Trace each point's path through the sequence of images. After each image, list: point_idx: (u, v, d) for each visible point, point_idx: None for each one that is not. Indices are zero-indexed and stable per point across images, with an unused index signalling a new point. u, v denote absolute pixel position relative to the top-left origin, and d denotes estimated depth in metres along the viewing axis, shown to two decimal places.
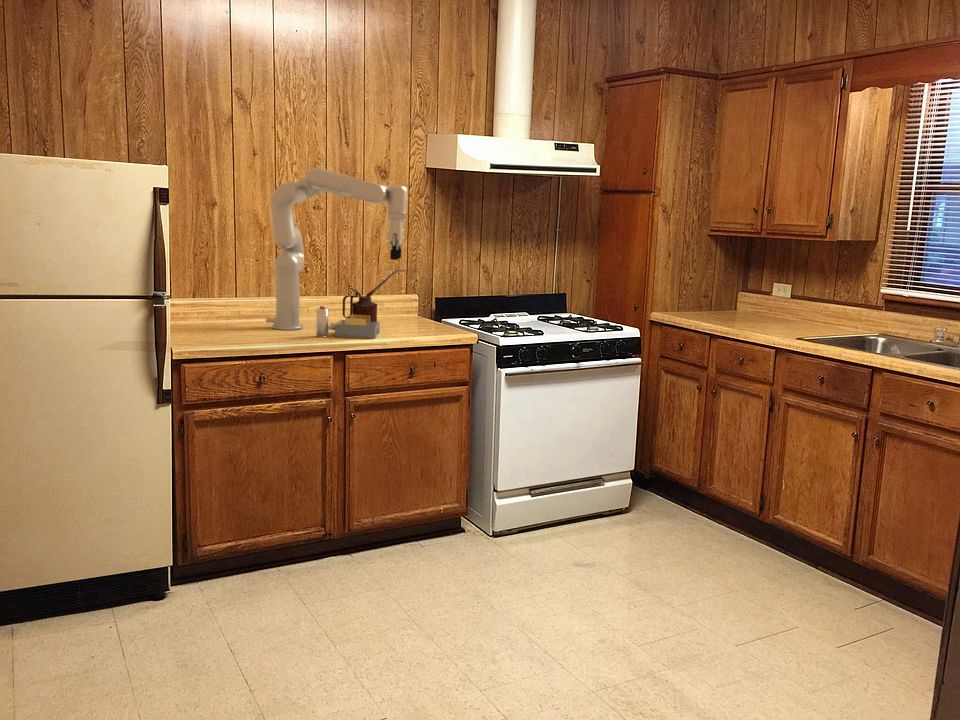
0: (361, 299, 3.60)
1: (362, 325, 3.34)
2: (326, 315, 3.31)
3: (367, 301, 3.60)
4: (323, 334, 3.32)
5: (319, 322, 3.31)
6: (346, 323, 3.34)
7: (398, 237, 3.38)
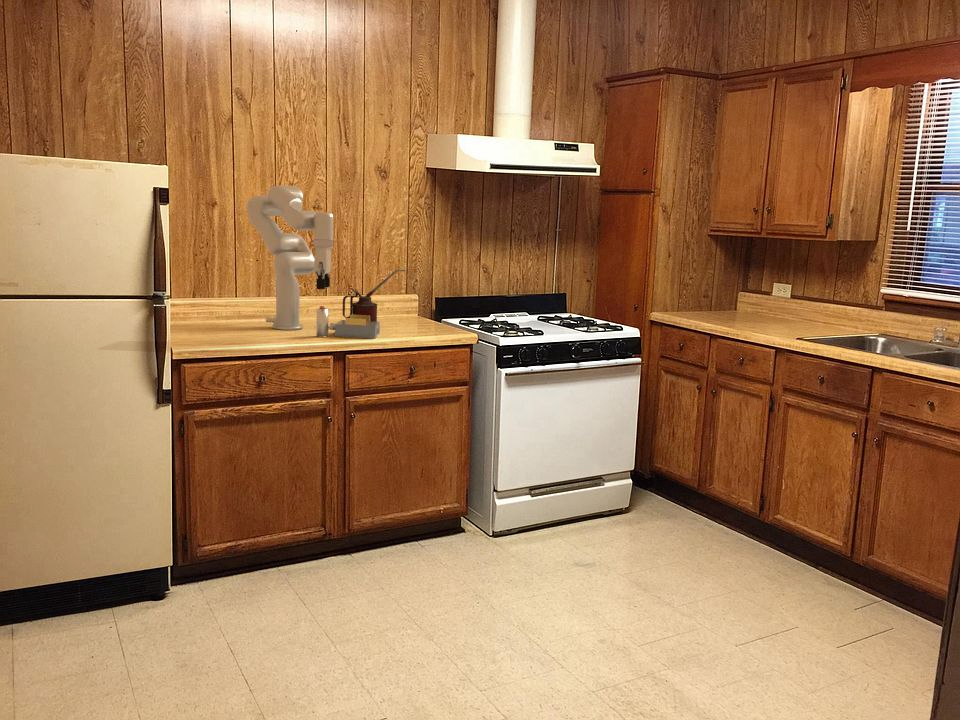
0: (361, 299, 3.60)
1: (362, 325, 3.34)
2: (326, 315, 3.31)
3: (367, 301, 3.60)
4: (323, 334, 3.32)
5: (319, 322, 3.31)
6: (346, 323, 3.34)
7: (324, 266, 3.24)
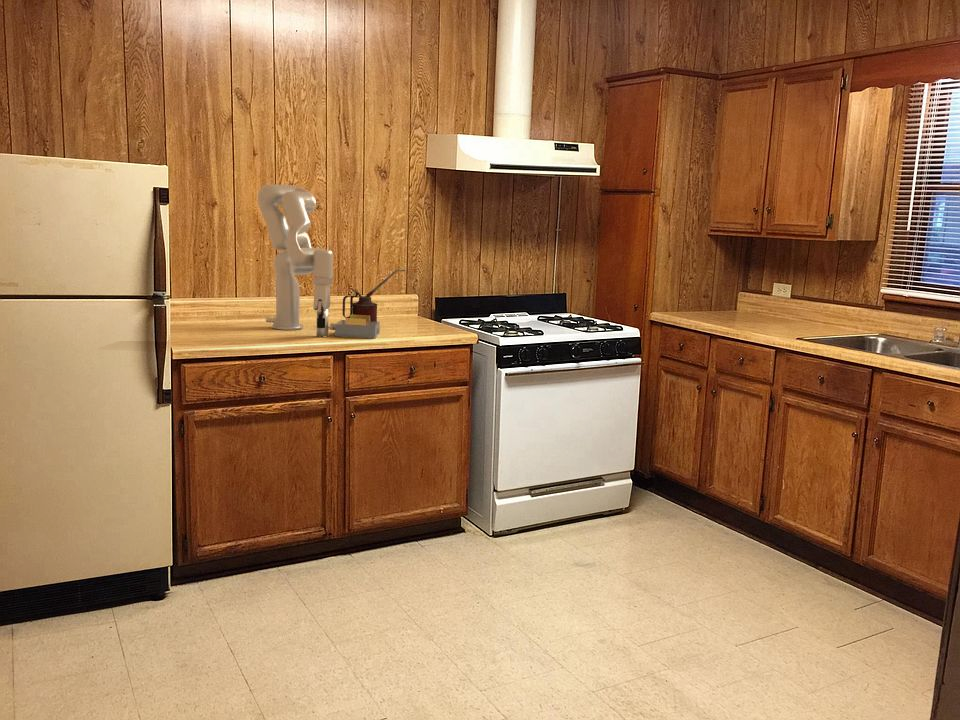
0: (361, 299, 3.60)
1: (362, 325, 3.34)
2: (326, 315, 3.31)
3: (367, 301, 3.60)
4: (323, 334, 3.32)
5: None
6: (346, 323, 3.34)
7: (323, 303, 3.27)
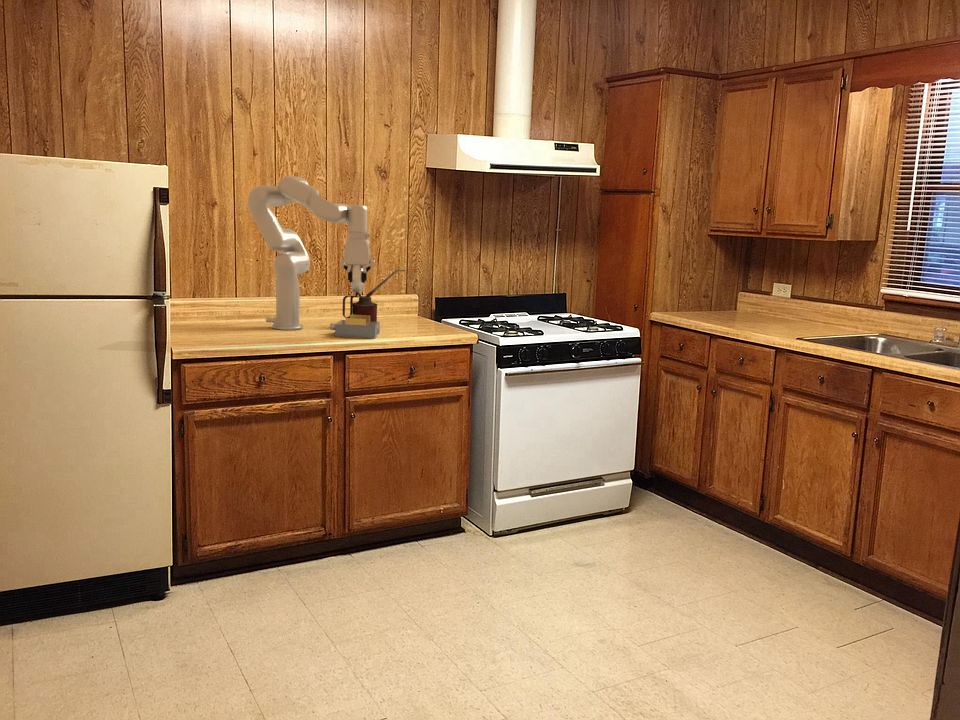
0: (361, 299, 3.60)
1: (362, 325, 3.34)
2: (353, 270, 3.34)
3: (367, 301, 3.60)
4: (351, 288, 3.36)
5: None
6: (346, 323, 3.34)
7: (344, 256, 3.34)
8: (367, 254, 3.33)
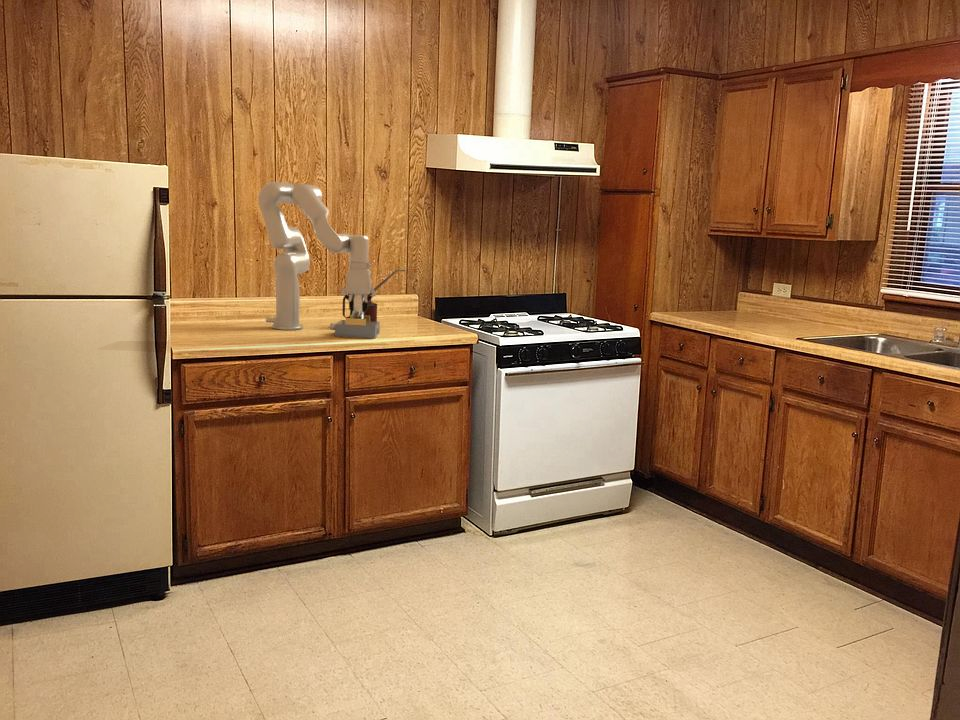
0: None
1: (362, 325, 3.34)
2: (354, 299, 3.37)
3: None
4: None
5: None
6: (346, 323, 3.34)
7: (345, 286, 3.36)
8: (368, 284, 3.35)
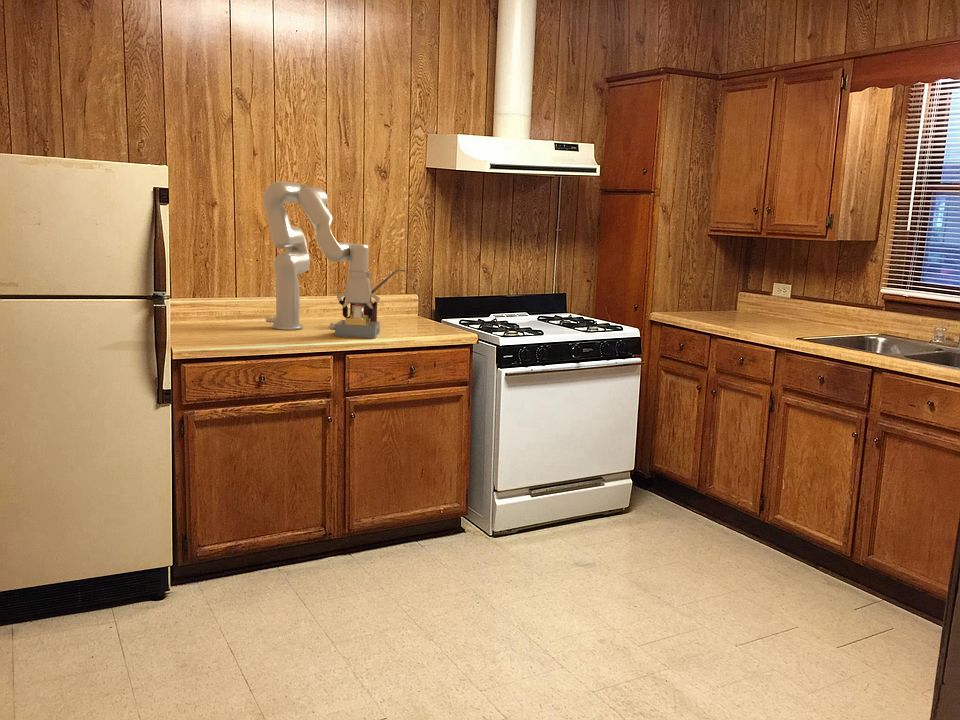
0: None
1: (362, 325, 3.34)
2: (353, 312, 3.37)
3: None
4: None
5: None
6: (346, 323, 3.34)
7: (345, 295, 3.37)
8: (368, 293, 3.36)
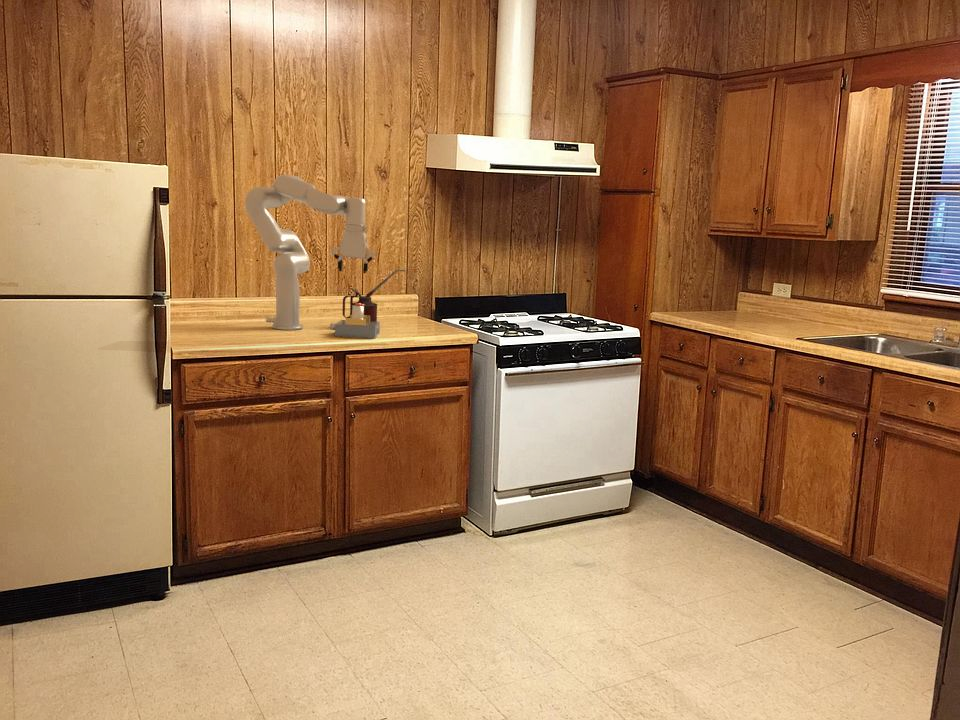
0: (361, 299, 3.60)
1: (362, 325, 3.34)
2: (354, 311, 3.38)
3: (367, 301, 3.60)
4: None
5: None
6: (346, 323, 3.34)
7: (340, 248, 3.34)
8: (363, 247, 3.33)
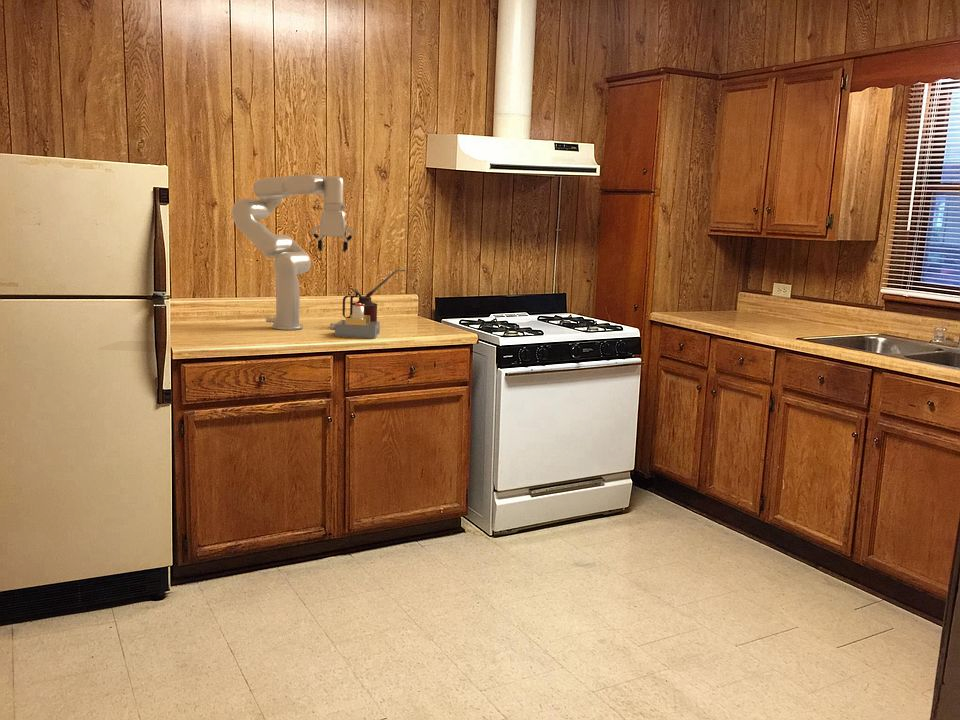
0: (361, 299, 3.60)
1: (362, 325, 3.34)
2: (354, 312, 3.37)
3: (367, 301, 3.60)
4: None
5: None
6: (346, 323, 3.34)
7: (319, 228, 3.34)
8: (342, 226, 3.33)
